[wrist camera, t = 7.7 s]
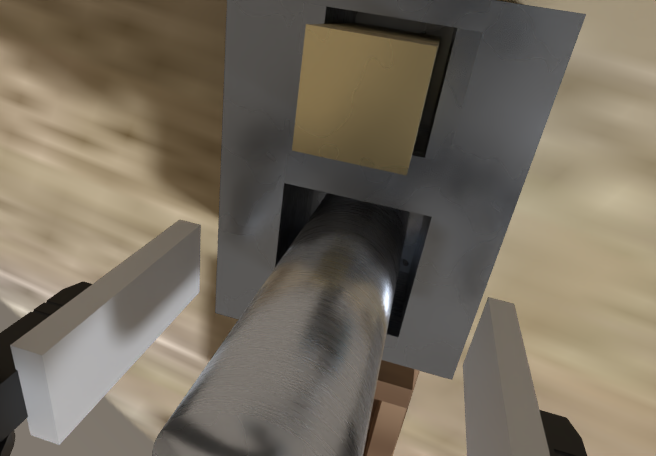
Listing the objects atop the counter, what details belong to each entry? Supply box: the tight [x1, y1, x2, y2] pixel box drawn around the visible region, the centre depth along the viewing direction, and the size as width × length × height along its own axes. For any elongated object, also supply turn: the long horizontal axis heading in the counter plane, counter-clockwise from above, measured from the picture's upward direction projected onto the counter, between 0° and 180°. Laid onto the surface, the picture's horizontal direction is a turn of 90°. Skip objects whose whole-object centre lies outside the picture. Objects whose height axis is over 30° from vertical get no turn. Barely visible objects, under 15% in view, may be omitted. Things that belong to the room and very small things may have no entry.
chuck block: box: [215, 0, 586, 380], centre depth 18 cm, size 13×10×6 cm
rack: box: [363, 360, 419, 456], centre depth 25 cm, size 9×9×4 cm
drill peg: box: [152, 193, 409, 456], centre depth 15 cm, size 4×4×14 cm
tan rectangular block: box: [292, 23, 441, 175], centre depth 14 cm, size 3×3×7 cm
